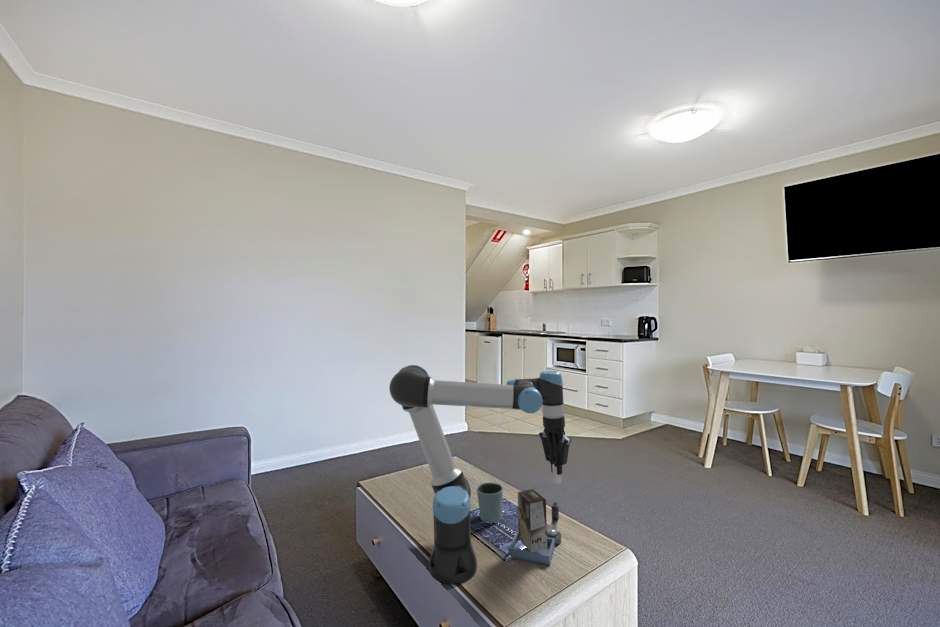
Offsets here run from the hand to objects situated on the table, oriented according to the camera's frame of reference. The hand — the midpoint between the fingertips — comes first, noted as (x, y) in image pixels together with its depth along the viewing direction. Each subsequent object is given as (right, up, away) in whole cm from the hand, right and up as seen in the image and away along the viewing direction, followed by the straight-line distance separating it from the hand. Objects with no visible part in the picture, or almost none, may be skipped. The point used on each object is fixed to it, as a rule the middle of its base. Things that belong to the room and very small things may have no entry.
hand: (557, 482), depth 139 cm
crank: (-1, -18, +4) cm, 19 cm away
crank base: (-6, -21, +2) cm, 21 cm away
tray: (-10, -21, -6) cm, 24 cm away
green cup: (-23, -21, +16) cm, 35 cm away
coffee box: (-10, -18, -6) cm, 21 cm away
